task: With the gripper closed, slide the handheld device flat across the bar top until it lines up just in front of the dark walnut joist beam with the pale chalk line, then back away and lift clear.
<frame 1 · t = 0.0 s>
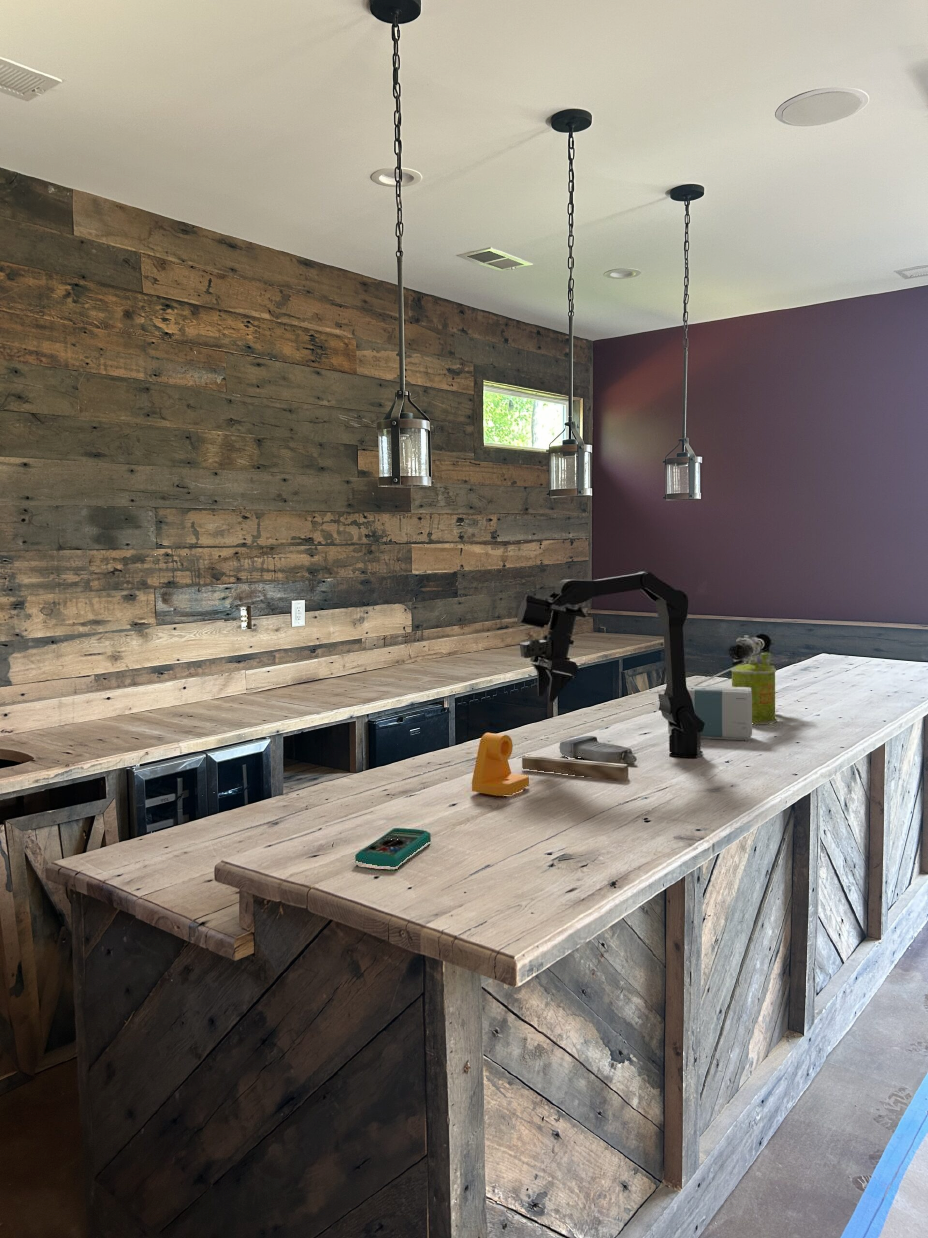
hand: (545, 698, 210), 15 cm above the table, tool pointing down, fingers open, 9 cm apart
joist beam: (574, 774, 201), on the table
digital multimeter: (394, 858, 150), on the table
handheld device: (601, 761, 215), on the table
stereo radio cassette player: (710, 738, 237), on the table
bracket: (501, 793, 188), on the table
blowtorch: (753, 721, 259), on the table
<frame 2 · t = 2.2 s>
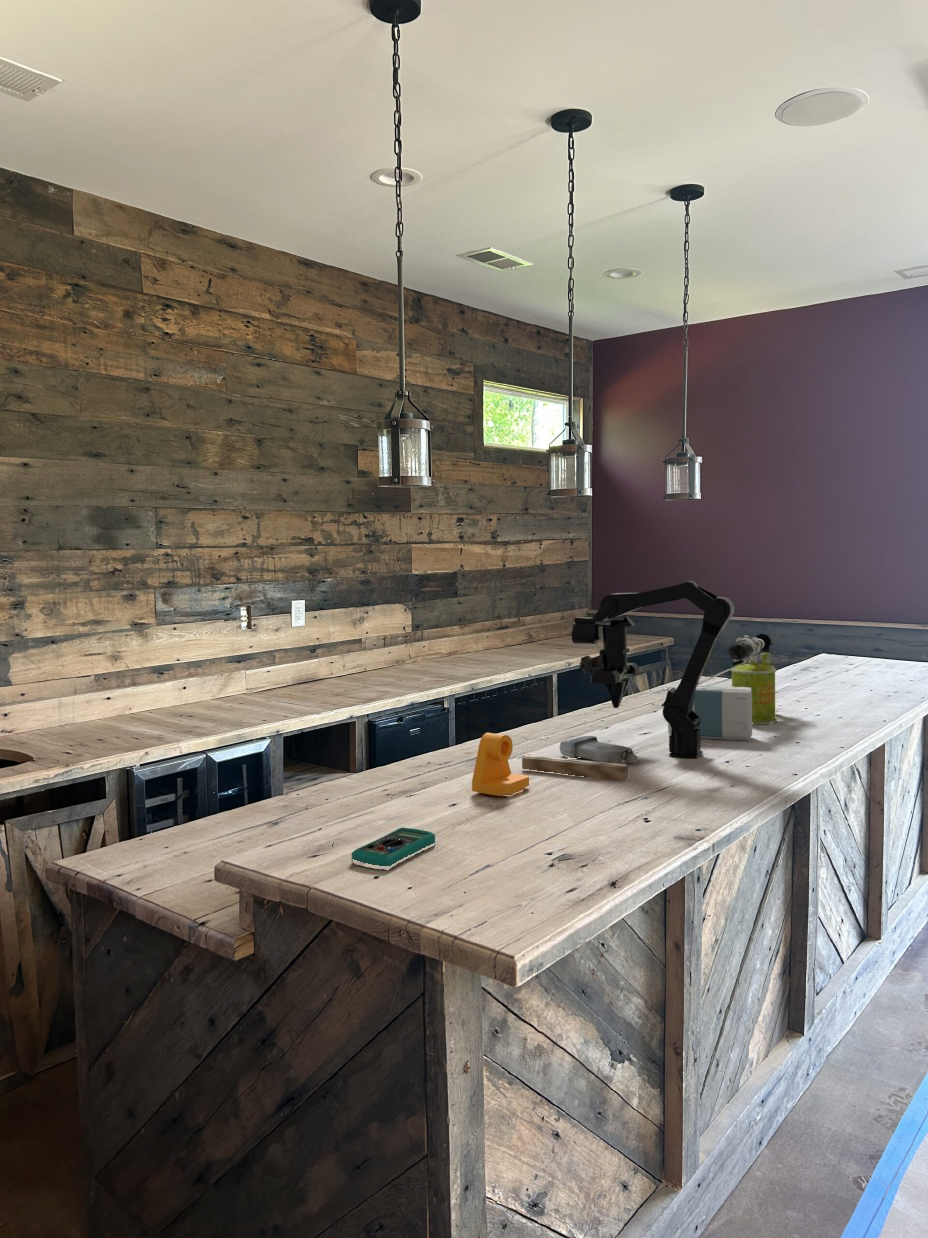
hand: (616, 707, 224), 11 cm above the table, tool pointing down, fingers closed
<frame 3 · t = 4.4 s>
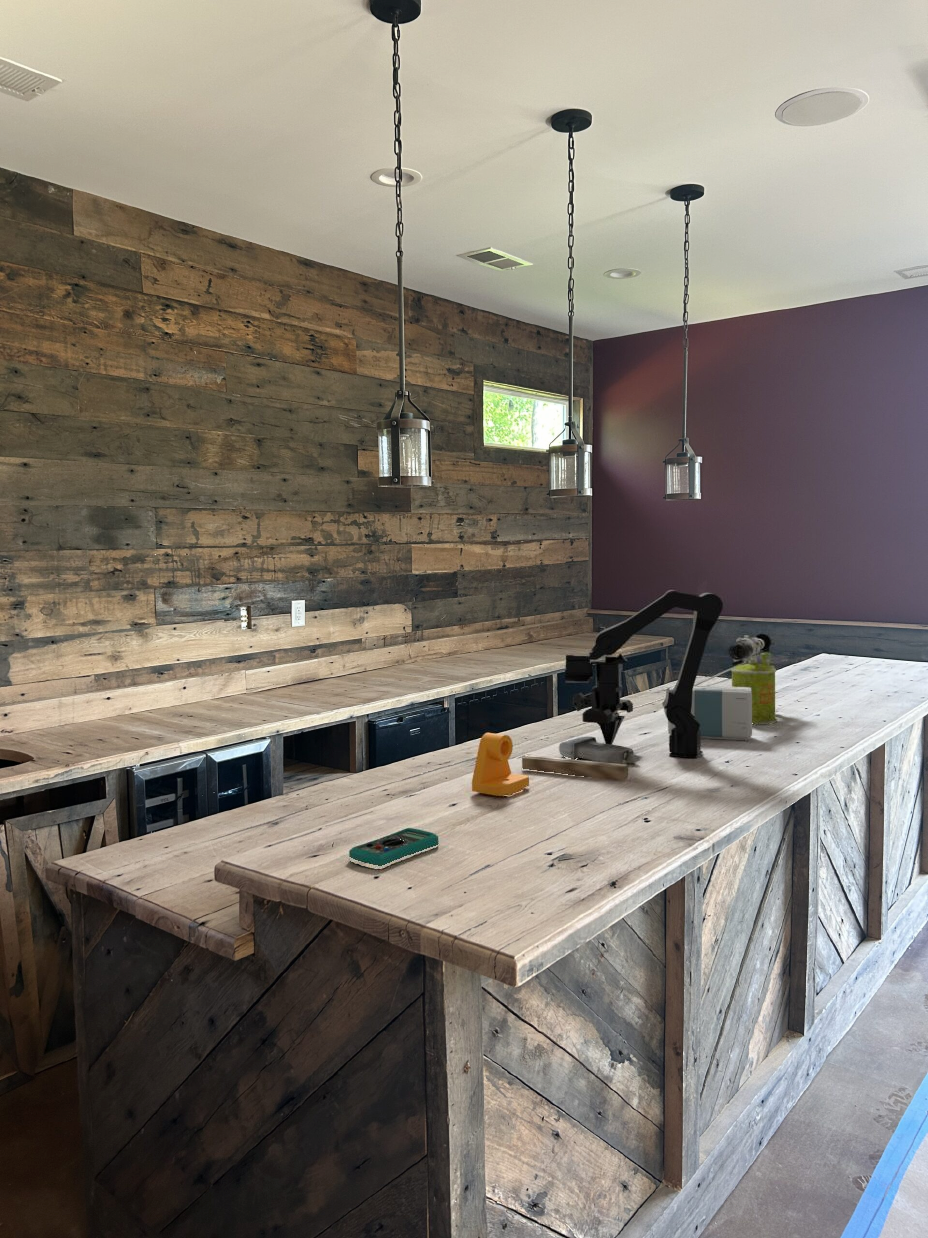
hand: (608, 746, 220), 2 cm above the table, tool pointing down, fingers closed
handheld device: (601, 761, 215), on the table, touching gripper
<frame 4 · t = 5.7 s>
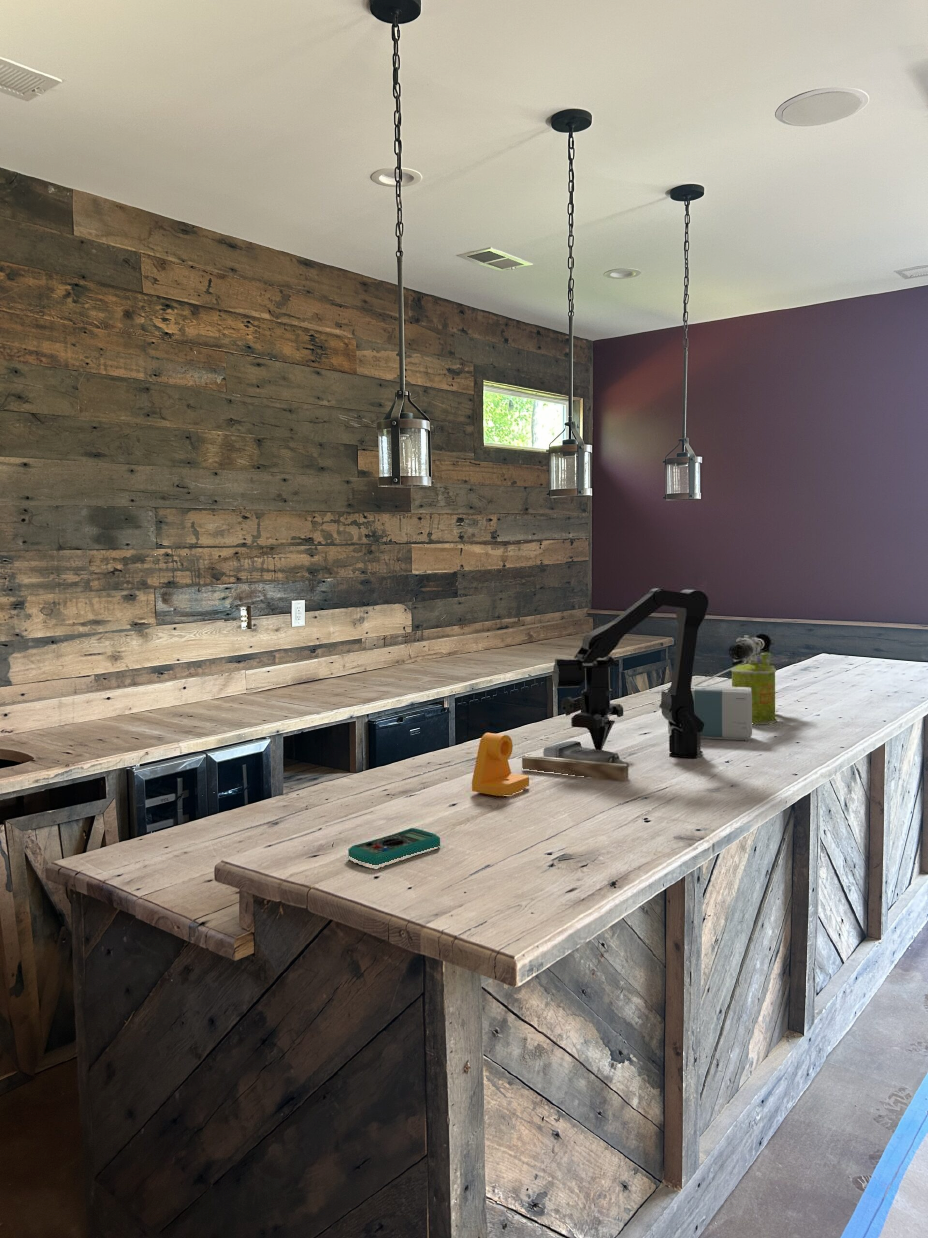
hand: (598, 751, 214), 2 cm above the table, tool pointing down, fingers closed
handheld device: (586, 767, 210), on the table
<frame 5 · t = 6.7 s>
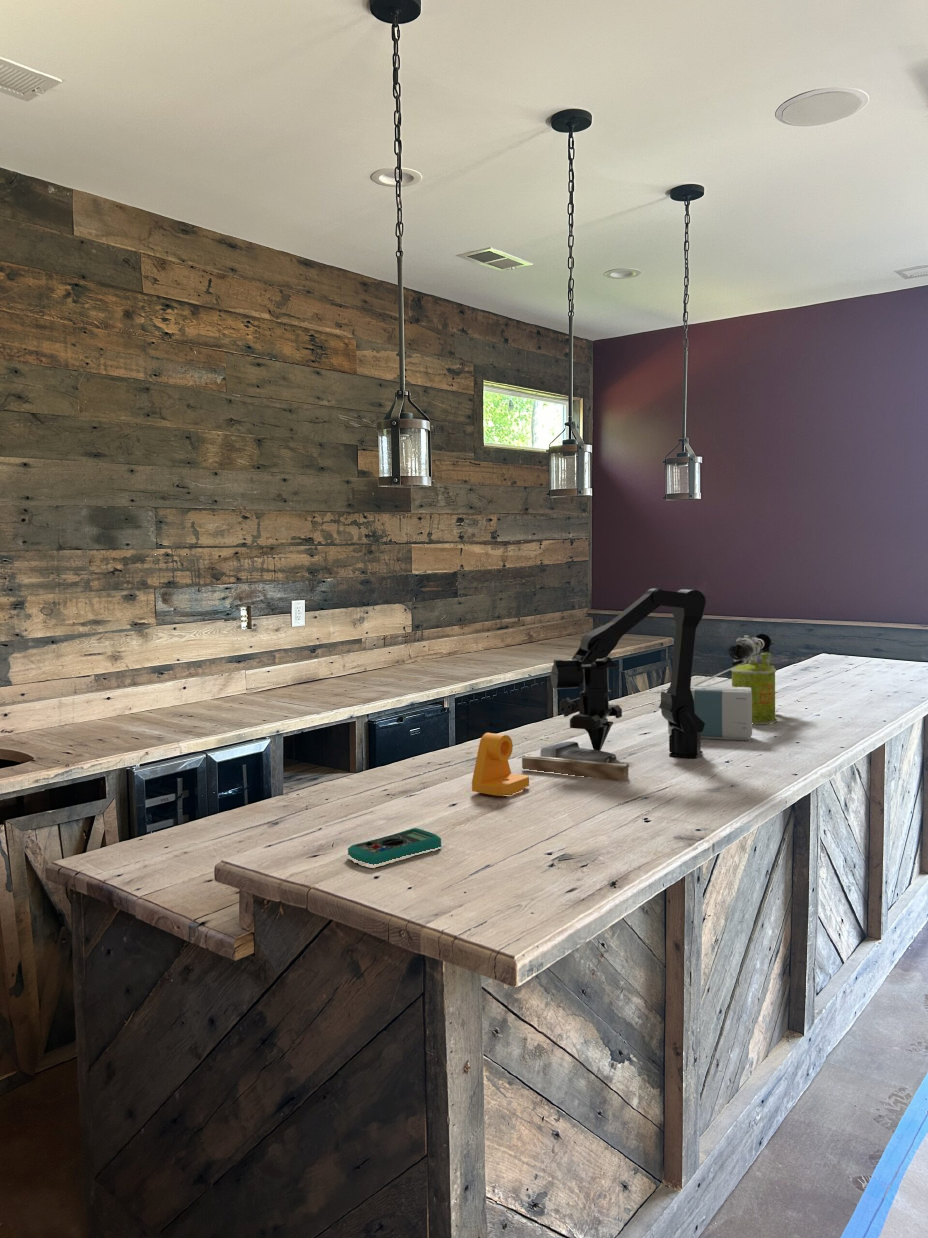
hand: (597, 752, 213), 2 cm above the table, tool pointing down, fingers closed
handheld device: (583, 767, 209), on the table
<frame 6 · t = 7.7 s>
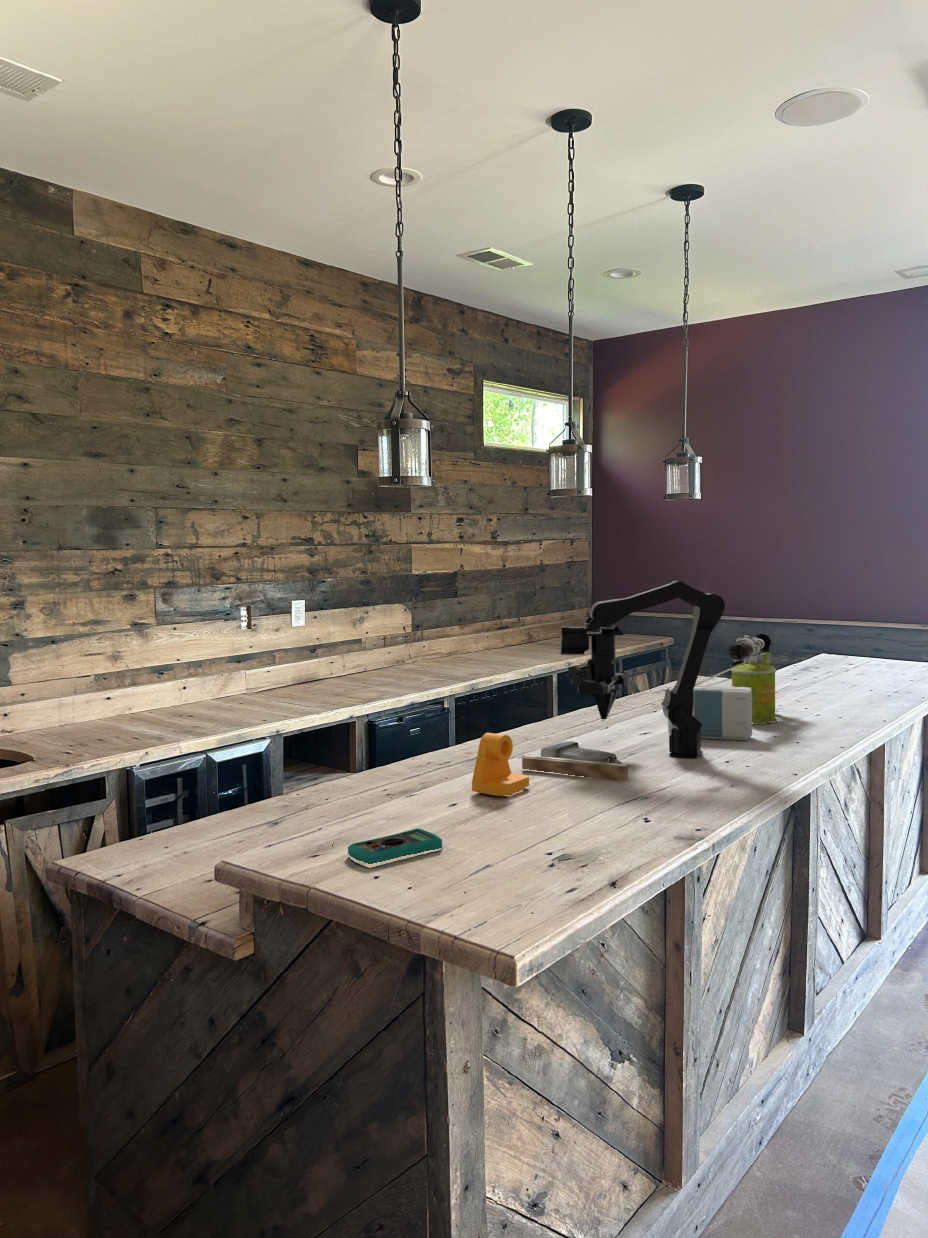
hand: (603, 719, 217), 9 cm above the table, tool pointing down, fingers closed
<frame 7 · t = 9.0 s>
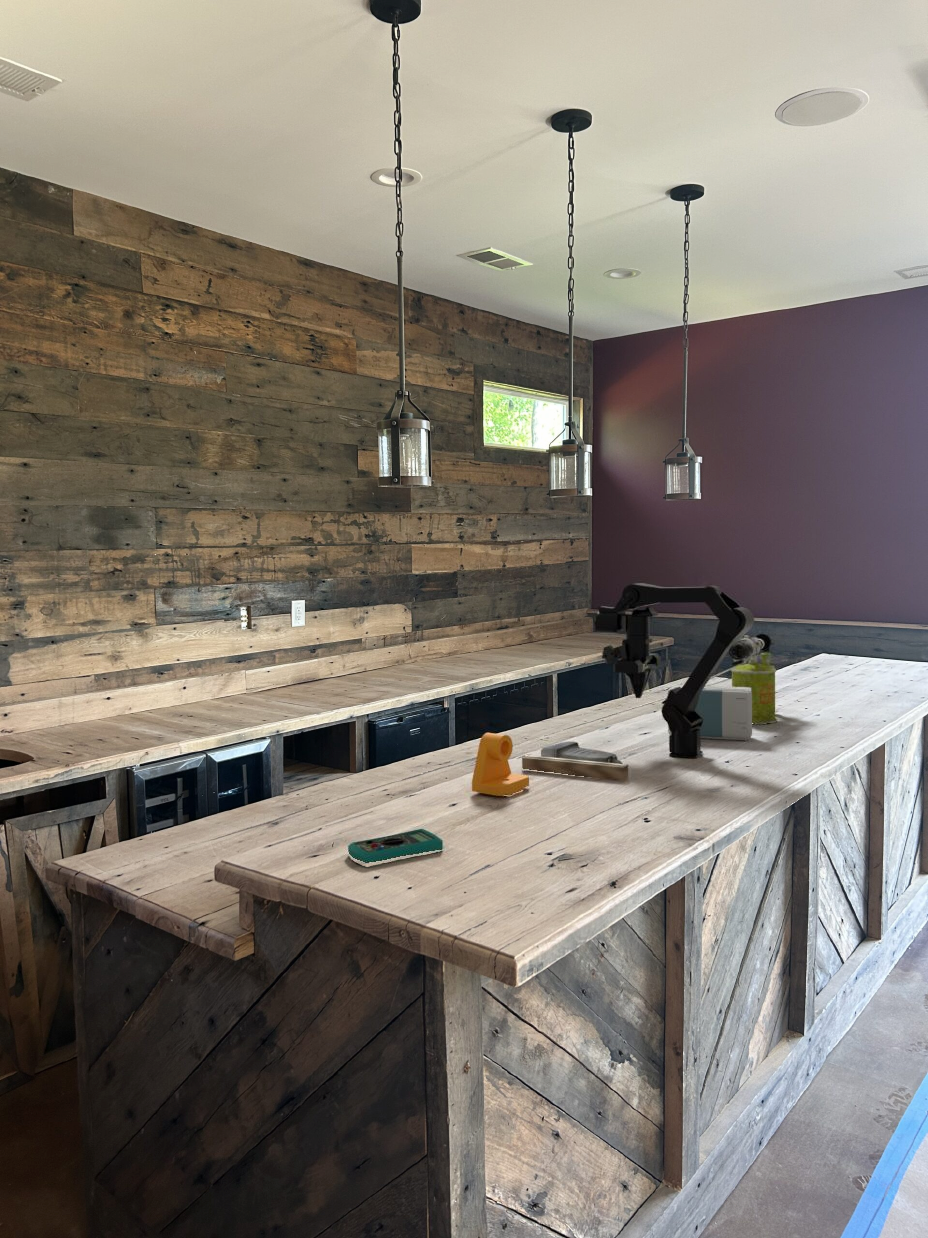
hand: (638, 697, 223), 13 cm above the table, tool pointing down, fingers closed
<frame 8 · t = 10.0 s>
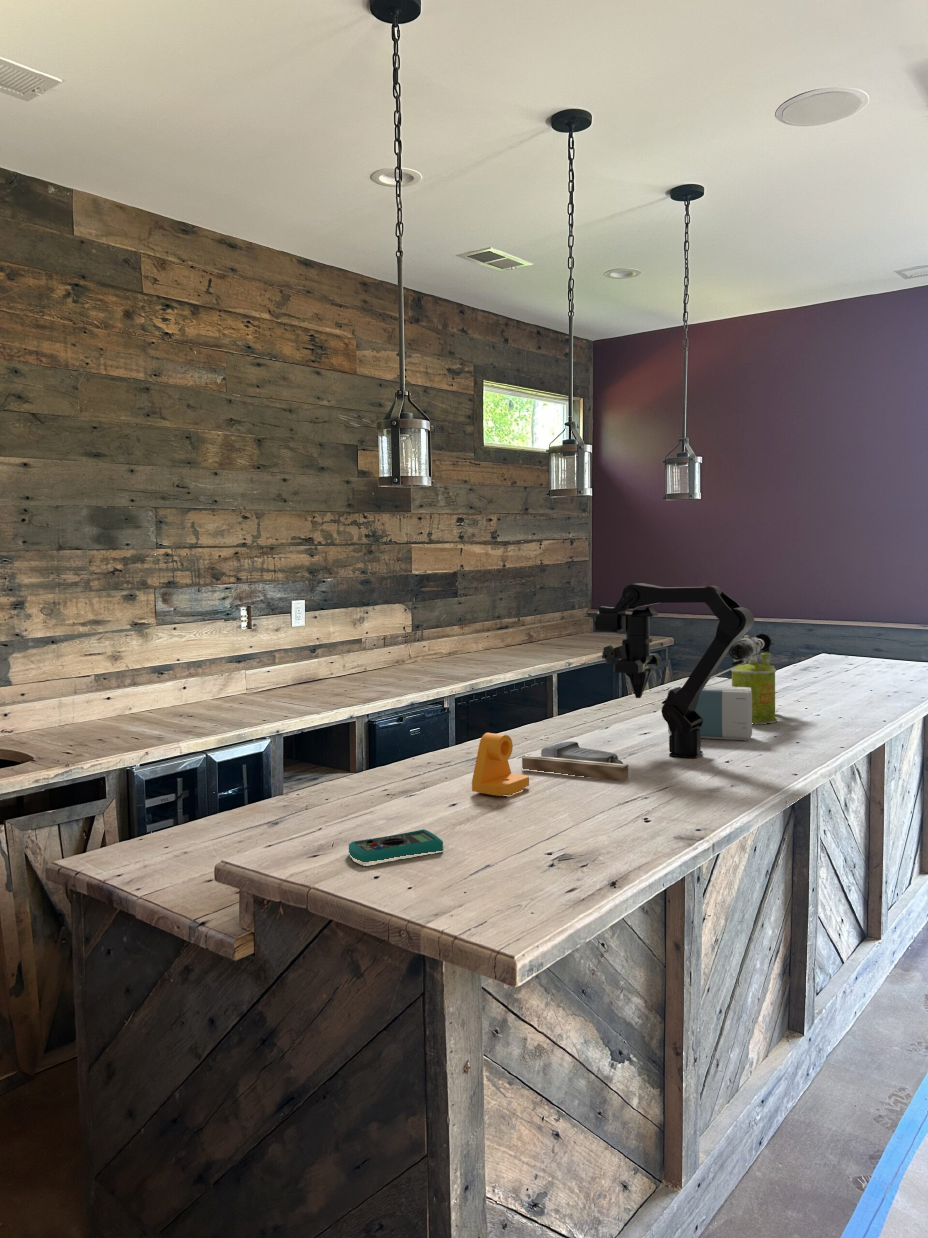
hand: (638, 697, 223), 13 cm above the table, tool pointing down, fingers closed
at the end: handheld device inside the target area (2.2 cm from its centre), on the table; handheld device moved 7.5 cm from its start; handheld device tilted 0° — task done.
